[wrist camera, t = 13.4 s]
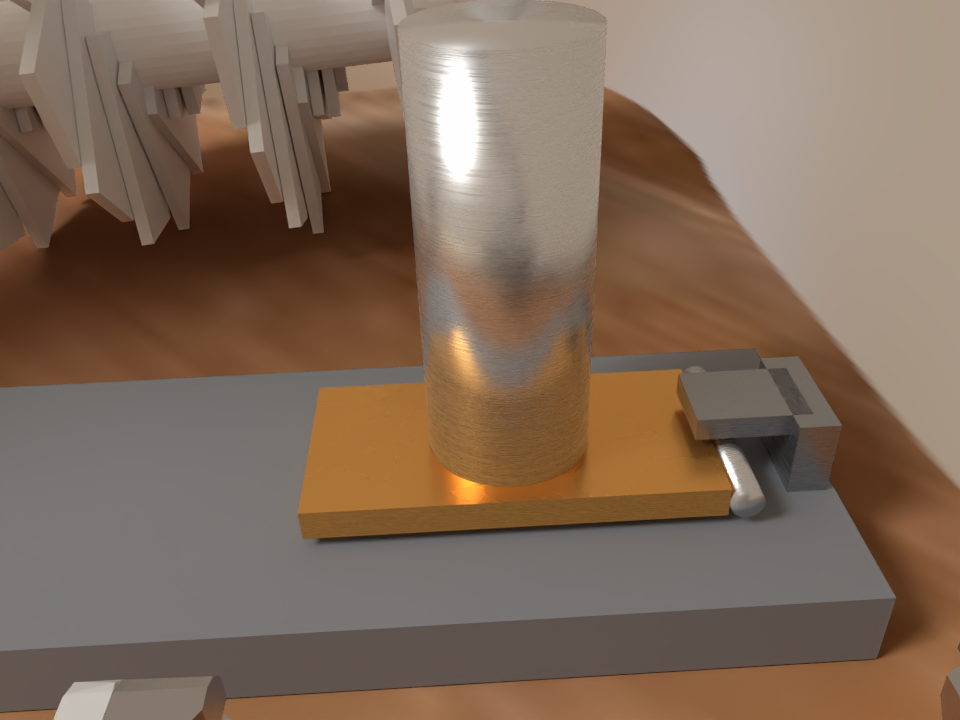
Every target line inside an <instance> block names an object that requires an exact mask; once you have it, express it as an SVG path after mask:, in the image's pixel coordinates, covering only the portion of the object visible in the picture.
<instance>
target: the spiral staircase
mask: <svg viewBox="0 0 960 720" xmlns="http://www.w3.org/2000/svg"><path fill="white" fill-rule="evenodd" d="M472 1H484V0H9V1H0V250H2V249H4V248H5V247H7V246H8V245H10V244H12V243H13V242H15V241H16V240H18V239H20V238H21V237H23V236H25V235H26V232H25V229H24V226H25V227H26V229H27V231H28V233H29V234H30V236H31V238H32V240H33V242H34V243H35V245H36V247H37V248H46V247H49V243H50V238H51V233H52V228H53V222H54V217H55V212H56V207H57V202H58V196H59V191H61V192H62V193H63V194H64V195H65V196H66V197H70V196H77V192H76V181H75V171H74V168H78V167H82V172H83V180H84V188H85V195H87V196H88V197H89V198H91V199H92V200H93V201H95V202H96V203H97V204H99V205H100V206H101V207H103V208H104V209H105V210H106V211H108V212H109V213H110V214H112V215H113V216H114V217H116V218H117V219H118V220H120V221H121V222H128V221H134V218H135V222H136V226H137V229H138V233H139V237H140V240H141V244H142V245H150V244H154V243H155V242H156V240H157V238H158V237H159V235H160V234H161V232H162V230H163V229H164V227H165V226H166V224H167V223H168V221H169V219H170V218H171V216H170V212H169V208H170V211H171V213H172V215H173V218H174V220H175V223H176V225H177V227H178V230H184V229H189V226H190V171H191V172H192V173H193V174H194V175H195V174H202V173H204V172H203V165H202V158H201V151H200V143H199V136H198V129H197V121H196V114H199V113H200V109H201V101H202V94H203V93H204V92H205V91H206V88H205V84H211V83H219V82H220V83H221V87H222V90H223V94H224V98H225V102H226V105H227V109H228V113H229V116H230V120H231V124H232V127H233V130H234V129H242V128H247V129H248V138H249V147H250V154H251V156H252V159H253V161H254V163H255V166H256V168H257V171H258V173H259V175H260V178H261V180H262V183H263V185H264V188H265V190H266V192H267V195H268V197H269V200H270V202H271V204H272V203H279V202H283V197H284V203H285V208H286V214H287V219H288V225H289V228H295V227H301V226H302V225H303V224H304V222H305V221H306V220H307V218H308V215H307V210H306V204H307V208H308V213H309V217H310V222H311V226H312V231H313V234H316V233H324V226H323V213H322V199H321V193H325V192H331V188H330V181H329V174H328V167H327V159H326V152H325V145H324V138H323V130H322V123H321V119H322V120H323V119H331V118H332V117H336V116H341V115H340V103H339V92H342V91H349V89H348V82H347V75H346V68H345V67H348V66H356V65H364V64H372V63H380V62H388V61H392V62H393V66H394V72H395V76H396V81H397V86H398V91H399V96H400V101H401V106H402V111H403V116H404V105H403V92H402V79H401V66H400V53H399V40H398V24H399V23H400V21H401V20H403V19H404V18H406V17H407V16H409V15H411V14H414V13H417V12H419V11H423V10H426V9H430V8H434V7H438V6H443V5H449V4H456V3H463V2H472ZM404 121H405V118H404ZM302 186H303V187H302ZM303 190H304V192H303ZM282 192H283V194H282ZM304 195H305V198H304ZM305 199H306V204H305ZM168 206H169V208H168ZM23 224H24V225H23Z"/></svg>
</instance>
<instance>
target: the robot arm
mask: <svg viewBox="0 0 960 720" xmlns="http://www.w3.org/2000/svg"><path fill="white" fill-rule="evenodd" d="M958 650H959V651H960V643H959V646H958ZM226 696H227V694H226V692H225V689H224V686H223V683H222V680H221V677H220V676H202V677H176V678H150V679H122V680H104V681H86V682H74V683H73V684H72V686H71V687H70V688H69V690H68V691H67V692H66V693H65V695H64V696H63V697H62V699H61V702H60V704H59V707H58V709H57V712H56V714H55V717H54V719H53V720H232V719H230V718H229V717H227V716H226V715H224V714H223V711H224V706H225V701H226ZM941 705H942V717H943V720H960V665H959V666H958V667H957V668H955V669H954V670H953V671H951V672H950V673H949V674H947V677H946V680H945V683H944V686H943V689H942V692H941Z"/></svg>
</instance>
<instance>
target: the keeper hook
mask: <svg viewBox="0 0 960 720" xmlns="http://www.w3.org/2000/svg"><path fill="white" fill-rule="evenodd" d="M676 393H677V396H678V398H679V400H680V403H681V405H682V408H683V410H684V413H685V415H686V418H687V420H688V423H689V425H690V428H691V430H692V433H693V435H694V438H695V440H706V439H724V438H742V437H760V439H761V441H762V443H763V445H764V447H765V449H766V451H767V453H768V455H769V457H770V459H771V461H772V463H773V465H774V467H775V469H776V471H777V473H778V475H779V477H780V479H781V481H782V483H783V485H784V487H785V489H786V491H787V492H798V491H816V490H827V487H828V483H829V479H830V475H831V471H832V467H833V462H834V458H835V454H836V450H837V446H838V442H839V437H840V433H841V429H842V424H841V423H840V421H839V420H838V418H837V416H836V415H835V413H834V412H833V410H832V409H831V407H830V405H829V404H828V402H827V401H826V399H825V397H824V396H823V394H822V393H821V391H820V390H819V388H818V386H817V385H816V383H815V382H814V380H813V379H812V377H811V375H810V374H809V372H808V371H807V369H806V367H805V366H804V364H803V363H802V361H801V360H800V358H799V356H795V357H776V358H761V360H760V366H759V369H754V370H735V371H716V372H697V373H678V382H677V391H676Z"/></svg>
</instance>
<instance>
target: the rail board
mask: <svg viewBox="0 0 960 720" xmlns="http://www.w3.org/2000/svg"><path fill="white" fill-rule="evenodd" d="M760 360H761V358H760V356H759V355H758V353H757V351H756V349H736V350H717V351H698V352H678V353H659V354H640V355H620V356H601V357H591V374H596V373H615V372H634V371H654V370H673V369H681V370H682V372H683V371H684V370H685V369H687V368H689V367H693V366H698V367H702V368H703V369H705V370H706V372H716V371H735V370H754V369H759V366H760ZM424 382H425V380H424V367H423V366H408V367H388V368H369V369H350V370H330V371H311V372H292V373H272V374H253V375H234V376H215V377H195V378H176V379H157V380H137V381H118V382H99V383H79V384H60V385H41V386H21V387H2V388H0V712H9V711H26V710H42V709H58V707H59V704H60V702H61V699H62V697H63V696H64V695H65V693H66V692H67V691H68V690H69V688H70V687H71V686H72V684H73V683H74V682H86V681H104V680H122V679H150V678H176V677H202V676H220V677H221V680H222V683H223V686H224V689H225V692H226V694H227V696H226V698H239V697H256V696H272V695H289V694H305V693H322V692H338V691H354V690H371V689H387V688H404V687H420V686H437V685H453V684H469V683H486V682H502V681H519V680H535V679H552V678H568V677H584V676H601V675H617V674H634V673H650V672H667V671H683V670H699V669H716V668H732V667H749V666H765V665H782V664H798V663H814V662H831V661H847V660H864V659H877V656H878V653H879V650H880V647H881V644H882V641H883V638H884V635H885V631H886V628H887V625H888V622H889V619H890V616H891V613H892V610H893V607H894V604H895V601H896V596H895V595H894V593H893V591H892V589H891V588H890V586H889V584H888V582H887V581H886V579H885V577H884V575H883V574H882V572H881V570H880V568H879V566H878V565H877V563H876V561H875V559H874V558H873V556H872V554H871V552H870V551H869V549H868V547H867V545H866V544H865V542H864V540H863V538H862V536H861V535H860V533H859V531H858V529H857V528H856V526H855V524H854V522H853V521H852V519H851V517H850V515H849V514H848V512H847V510H846V508H845V506H844V505H843V503H842V501H841V499H840V498H839V496H838V494H837V492H836V491H835V489H834V487H833V485H832V484H831V482H830V480H829V483H828V487H827V490H816V491H798V492H787V491H786V489H785V487H784V485H783V483H782V481H781V479H780V477H779V475H778V473H777V471H776V469H775V467H774V465H773V463H772V461H771V459H770V457H769V455H768V453H767V451H766V449H765V447H764V445H763V443H762V441H761V439H760V437H742V438H737V439H738V441H739V443H740V445H741V447H742V450H743V452H744V454H745V456H746V458H747V460H748V462H749V465H750V467H751V469H752V471H753V473H754V475H755V478H756V480H757V482H758V484H759V486H760V488H761V490H762V493H763V495H764V497H765V499H766V504H765V507H764V508H763V509H762V511H761V512H759V513H758V514H756V515H754V516H751V517H740V516H737V515H736V514H734V513H733V511H732V509H731V507H729V513H728V515H722V516H704V517H687V518H669V519H651V520H633V521H616V522H598V523H580V524H563V525H545V526H527V527H510V528H492V529H474V530H456V531H439V532H421V533H403V534H386V535H368V536H350V537H332V538H315V539H302V534H301V529H300V523H299V518H298V509H299V503H300V497H301V491H302V486H303V480H304V474H305V468H306V462H307V457H308V451H309V445H310V439H311V433H312V428H313V422H314V416H315V410H316V405H317V399H318V393H319V388H328V387H347V386H366V385H386V384H405V383H424Z"/></svg>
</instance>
